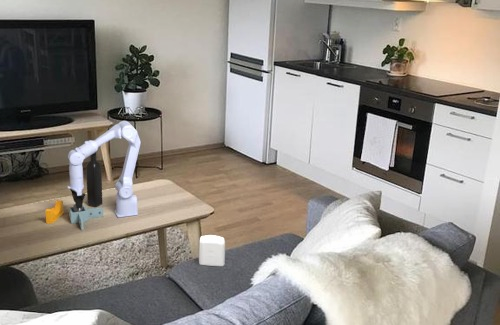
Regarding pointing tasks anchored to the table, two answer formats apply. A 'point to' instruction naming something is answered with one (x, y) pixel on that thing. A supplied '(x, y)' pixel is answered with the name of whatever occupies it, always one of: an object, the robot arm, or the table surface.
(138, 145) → the robot arm
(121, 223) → the table surface
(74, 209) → the pin
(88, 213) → the square tube bracket
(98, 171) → the wine bottle
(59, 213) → the pipe clamp
